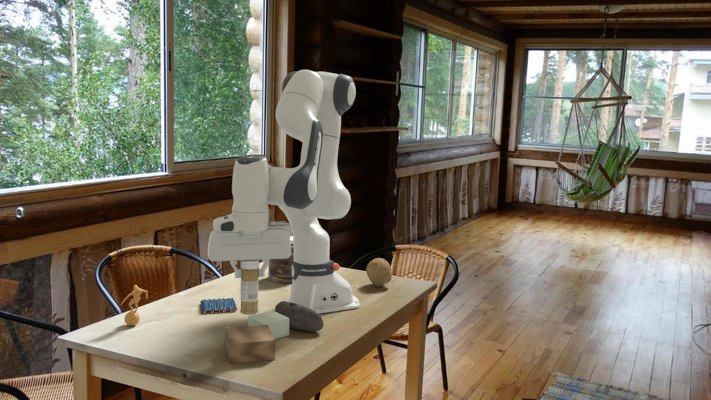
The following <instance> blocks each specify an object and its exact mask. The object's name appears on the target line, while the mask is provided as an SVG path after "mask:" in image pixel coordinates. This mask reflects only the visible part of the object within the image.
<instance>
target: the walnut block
mask: <svg viewBox="0 0 711 400" xmlns="http://www.w3.org/2000/svg"><path fill="white" fill-rule="evenodd" d="M224 348H225V353H226V355H227V359H228V363H229V364H230V365H231V364H240V363H241V364H242V363H252V362H253V363H254V362H261V361H271V360H272V361H273V360H274V361H275V360H276V339H274V337H273V335H272V333H271V331H270V329H269V327H268V325H259V326H248V325H247V326H246V325H245V326H237V327H224Z"/></svg>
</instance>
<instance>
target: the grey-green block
mask: <svg viewBox="0 0 711 400" xmlns="http://www.w3.org/2000/svg"><path fill="white" fill-rule="evenodd" d="M259 325H268V327H269V329H270V331H271V333H272V335H273V337H274V339H275V340H276V339H281V338H284V337H288V336H290V328H289V318H288V317H286V316H283V315H281V314H279V313H277V312H275V310H269V311H265V312H261V313H260V312H259V313H256V314H253V315H247V326H259Z"/></svg>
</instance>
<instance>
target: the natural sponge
mask: <svg viewBox="0 0 711 400" xmlns="http://www.w3.org/2000/svg"><path fill="white" fill-rule="evenodd" d="M365 271H366V275H367V277H368V279H369V281H370V283H372V284H373V286H375V287H380V288H381V287H383V286H384V285H386V284H388V283H390V282H391V280H392V276H393V273H392V267H391V265H390V263H389V262H388V261H387V260H386V259H385V258H381V257H377V258H376V257H375V258H374V259H372V260H370V261H369V263H368V264H367V266H366V269H365Z"/></svg>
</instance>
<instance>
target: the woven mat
mask: <svg viewBox="0 0 711 400" xmlns="http://www.w3.org/2000/svg"><path fill="white" fill-rule="evenodd" d="M200 309H201V310H200V311H201V314H203V315H206V314H210V313H211V314H217V313H218V314H222V312H223V314H224V313H229V312H230V313H233V312H234V313H236V312H237V311H238V308H237V305H236V302H235V299H234V297H232V298H231V297H230V298H229V297H227V298H224V297H222V298H218V299H217V298H211V299H210V298H208V299H202V300H200Z"/></svg>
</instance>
